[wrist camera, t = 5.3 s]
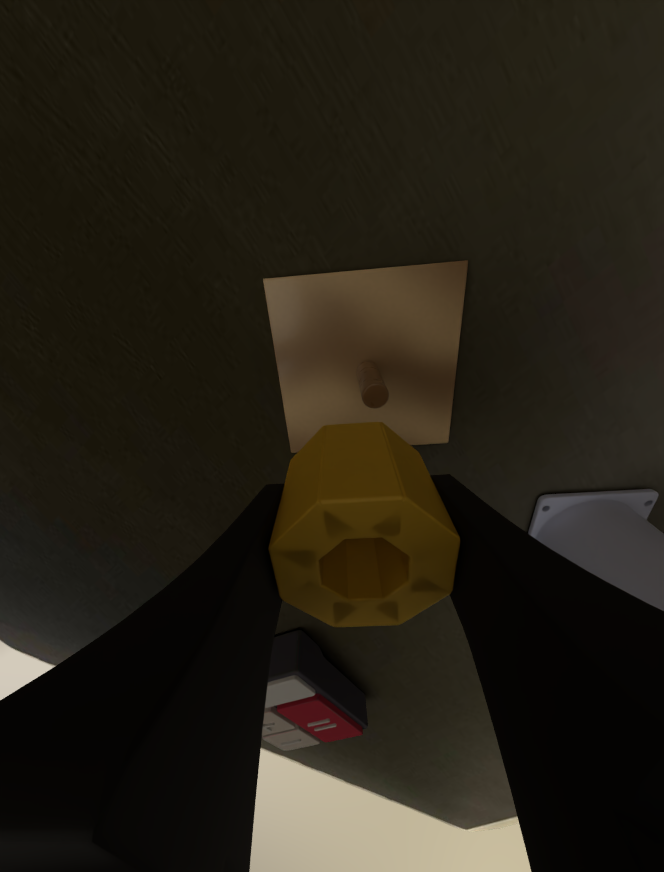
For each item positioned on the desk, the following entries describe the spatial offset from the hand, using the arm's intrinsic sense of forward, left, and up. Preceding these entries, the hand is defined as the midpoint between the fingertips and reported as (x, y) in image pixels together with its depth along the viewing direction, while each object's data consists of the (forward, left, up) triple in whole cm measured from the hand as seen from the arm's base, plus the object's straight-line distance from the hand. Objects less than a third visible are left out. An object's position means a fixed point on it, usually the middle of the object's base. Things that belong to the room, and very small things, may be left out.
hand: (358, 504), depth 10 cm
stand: (+2, -1, -10) cm, 10 cm away
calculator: (-32, +8, -10) cm, 35 cm away
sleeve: (0, 0, -1) cm, 1 cm away
